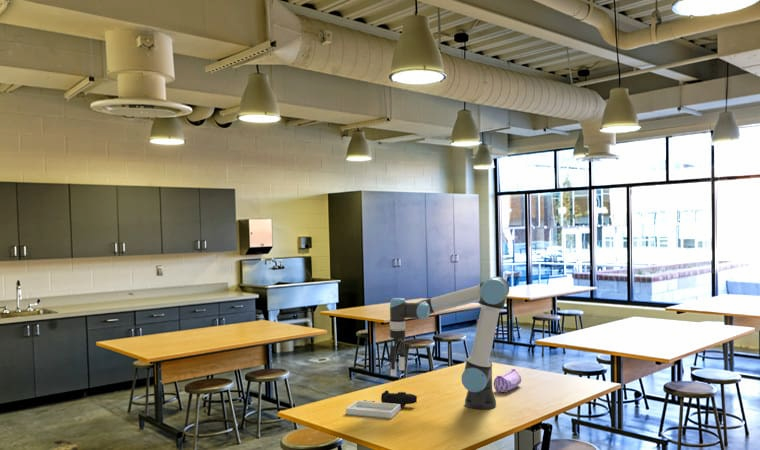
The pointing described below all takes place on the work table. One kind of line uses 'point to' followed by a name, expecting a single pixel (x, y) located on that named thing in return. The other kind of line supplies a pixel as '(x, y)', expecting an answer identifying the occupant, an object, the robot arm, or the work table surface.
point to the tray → (373, 409)
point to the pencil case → (507, 381)
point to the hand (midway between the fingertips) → (397, 373)
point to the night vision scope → (398, 398)
